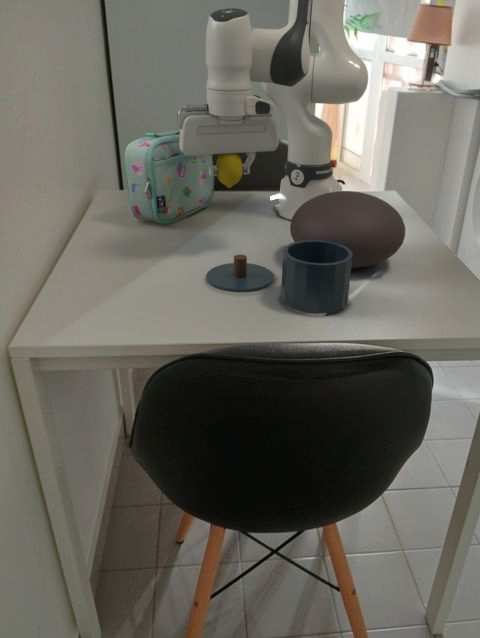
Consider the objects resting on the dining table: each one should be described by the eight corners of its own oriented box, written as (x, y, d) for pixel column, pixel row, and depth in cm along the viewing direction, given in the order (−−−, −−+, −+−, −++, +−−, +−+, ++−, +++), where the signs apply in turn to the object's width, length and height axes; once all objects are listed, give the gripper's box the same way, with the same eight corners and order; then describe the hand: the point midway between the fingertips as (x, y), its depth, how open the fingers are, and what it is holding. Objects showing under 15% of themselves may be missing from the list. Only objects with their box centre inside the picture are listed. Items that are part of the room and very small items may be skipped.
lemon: (245, 190, 126) (245, 151, 122) (219, 192, 125) (218, 152, 121) (238, 183, 131) (239, 145, 127) (213, 185, 129) (212, 146, 125)
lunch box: (157, 232, 148) (151, 141, 137) (124, 224, 152) (116, 135, 141) (218, 205, 168) (217, 124, 157) (188, 199, 172) (185, 120, 162)
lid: (231, 263, 132) (231, 240, 129) (285, 277, 126) (286, 253, 123) (193, 284, 122) (192, 259, 119) (250, 300, 116) (250, 275, 113)
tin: (301, 282, 124) (303, 235, 119) (357, 297, 118) (363, 249, 113) (269, 304, 114) (270, 254, 109) (329, 322, 109) (334, 270, 104)
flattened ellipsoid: (408, 251, 141) (418, 187, 134) (390, 292, 121) (400, 219, 113) (306, 236, 148) (310, 174, 141) (272, 273, 128) (275, 203, 120)
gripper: (180, 108, 114) (183, 181, 121) (282, 104, 120) (280, 175, 127) (173, 102, 119) (177, 173, 126) (272, 99, 125) (270, 167, 132)
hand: (229, 174), depth 126 cm, fingers closed on lemon, 5 cm apart
